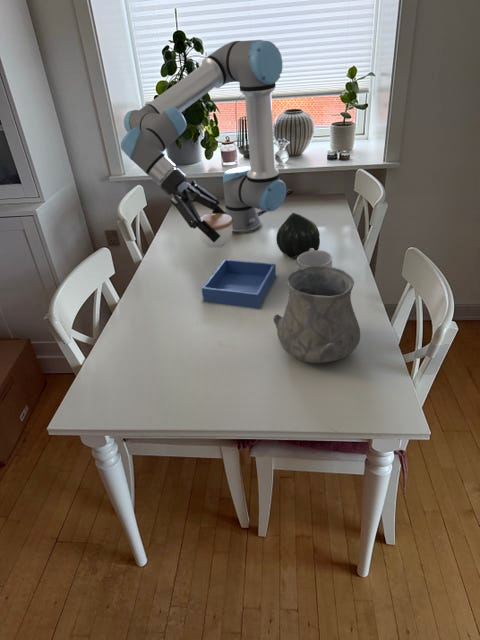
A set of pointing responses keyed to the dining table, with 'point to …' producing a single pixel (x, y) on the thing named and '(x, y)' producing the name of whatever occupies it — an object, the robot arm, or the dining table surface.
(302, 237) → the squash
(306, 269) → the vessel
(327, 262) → the teacup
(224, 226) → the trinket box
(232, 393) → the dining table surface
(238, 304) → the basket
